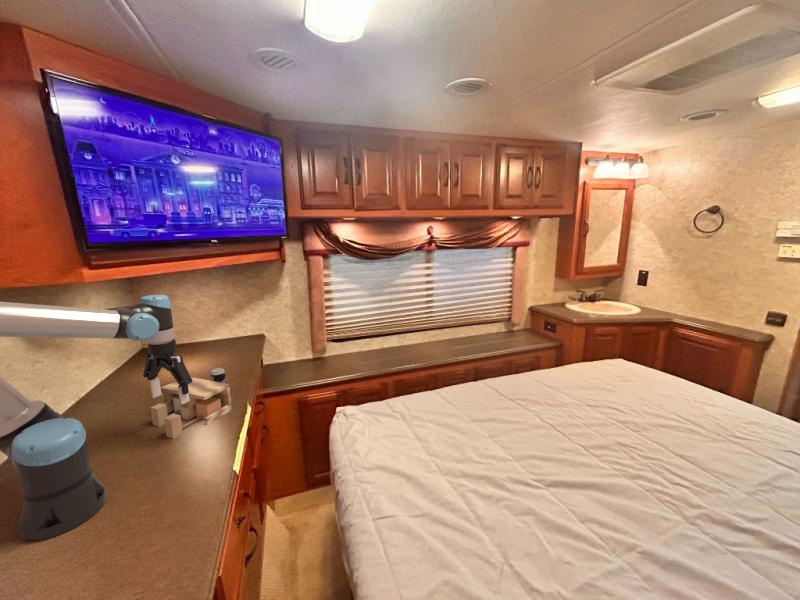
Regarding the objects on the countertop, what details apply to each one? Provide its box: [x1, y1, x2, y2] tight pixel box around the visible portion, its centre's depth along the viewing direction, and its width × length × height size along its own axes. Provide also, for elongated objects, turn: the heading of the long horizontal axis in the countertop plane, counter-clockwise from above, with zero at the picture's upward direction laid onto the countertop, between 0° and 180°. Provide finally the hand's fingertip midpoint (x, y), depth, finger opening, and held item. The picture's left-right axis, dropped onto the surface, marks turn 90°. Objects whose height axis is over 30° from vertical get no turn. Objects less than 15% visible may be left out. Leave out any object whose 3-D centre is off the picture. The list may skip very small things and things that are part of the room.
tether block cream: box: [150, 396, 181, 427], centre depth 124 cm, size 15×6×7 cm, turn 161°
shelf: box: [160, 376, 233, 425], centre depth 126 cm, size 11×23×11 cm, turn 71°
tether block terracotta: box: [164, 397, 221, 439], centre depth 119 cm, size 19×6×7 cm, turn 161°
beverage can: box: [209, 367, 227, 384], centre depth 140 cm, size 6×6×12 cm
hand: (170, 399), depth 110 cm, fingers open, 13 cm apart
